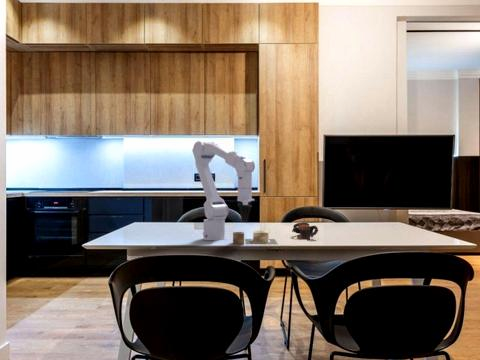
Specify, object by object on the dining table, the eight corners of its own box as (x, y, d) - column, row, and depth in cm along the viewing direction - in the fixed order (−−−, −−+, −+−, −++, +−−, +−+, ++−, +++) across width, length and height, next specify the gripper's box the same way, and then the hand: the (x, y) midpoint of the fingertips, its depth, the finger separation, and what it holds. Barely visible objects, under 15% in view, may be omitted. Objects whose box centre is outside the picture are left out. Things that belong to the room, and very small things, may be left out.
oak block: (253, 242, 173) (254, 232, 173) (253, 239, 179) (253, 230, 179) (268, 242, 173) (268, 232, 173) (267, 239, 179) (267, 230, 179)
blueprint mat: (245, 245, 169) (245, 243, 169) (244, 240, 182) (244, 238, 182) (277, 245, 169) (277, 244, 169) (274, 240, 182) (274, 238, 182)
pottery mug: (290, 240, 184) (288, 223, 188) (297, 247, 191) (295, 230, 195) (317, 235, 180) (314, 218, 184) (322, 242, 187) (320, 225, 191)
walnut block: (232, 245, 168) (233, 233, 168) (232, 243, 172) (233, 231, 172) (244, 245, 168) (244, 233, 168) (243, 243, 172) (243, 231, 172)
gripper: (255, 189, 164) (255, 223, 165) (253, 187, 179) (252, 219, 179) (237, 189, 164) (237, 223, 164) (236, 187, 178) (236, 219, 179)
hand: (244, 221), depth 172 cm, fingers open, 7 cm apart
